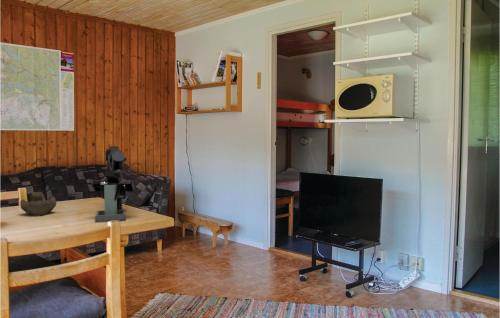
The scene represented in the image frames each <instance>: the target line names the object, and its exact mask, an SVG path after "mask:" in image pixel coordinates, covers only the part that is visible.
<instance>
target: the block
mask: <svg viewBox="0 0 500 318" xmlns="http://www.w3.org/2000/svg"><path fill="white" fill-rule="evenodd" d="M116 191H117V185H112V184H111V185H105V186H104V195H103V201H104V210H105V215H114V214H117V200H116V201H115V200H114V199H115V194H116Z"/></svg>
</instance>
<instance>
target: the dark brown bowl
mask: <svg viewBox="0 0 500 318" xmlns="http://www.w3.org/2000/svg"><path fill="white" fill-rule="evenodd" d="M30 198H31V199H30V201H26V200H25V199H20V202H19V204H20V209H21V210H22V211H24V212H25V213H27V214H30V215H32V216H35V215H40V216H44V215H46V214H48V213H51V212H52V211H53V210H54V209H55V207H56V205H57V200H56V197H55V196H52V195H51V196H50V197H49V198H48V199H46V197H45V195H44V193H43V192H42V191H34V192H32V193H31V194H30Z"/></svg>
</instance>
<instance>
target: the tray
mask: <svg viewBox="0 0 500 318" xmlns="http://www.w3.org/2000/svg"><path fill="white" fill-rule="evenodd" d="M94 218H95V219H94V223H108V221H111V220H120V221H119V222H126V209H123V210H117V214H114V215H105V209H104V210H97V211H96V212H95V217H94Z"/></svg>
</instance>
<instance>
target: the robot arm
mask: <svg viewBox="0 0 500 318" xmlns="http://www.w3.org/2000/svg"><path fill="white" fill-rule="evenodd" d="M119 147H120V146H117V145H115V146H114V145H113V146H108V149H107V150H105V152H104V154H105V155H104V159H105V162H106V166H108V167H109V169H106V170H105V174H104V177H105V178H106V182H105V181H102V179H99V180H98V179H97V180H96V179H95V180H93V181H92V182H91V186H92V188H93V190H94V192H95V193H96V192H101V193H103V194H102V195H103V196H104V186H105V185H111V184H112V185H117V191H116V194H115V199H114V200H115V201H116V200H117V210H124V207H123V200H124V199H127V193H129V192H134V191H135V190H134V189H135V184H134V182H133V180H129V179H127V180H126V179H125V180H123V173H124V171H125V166H124V165H125V163H126V161H127V157H126V156H125V155H124V153H123V152H122V151H121V150H120V148H119Z"/></svg>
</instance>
